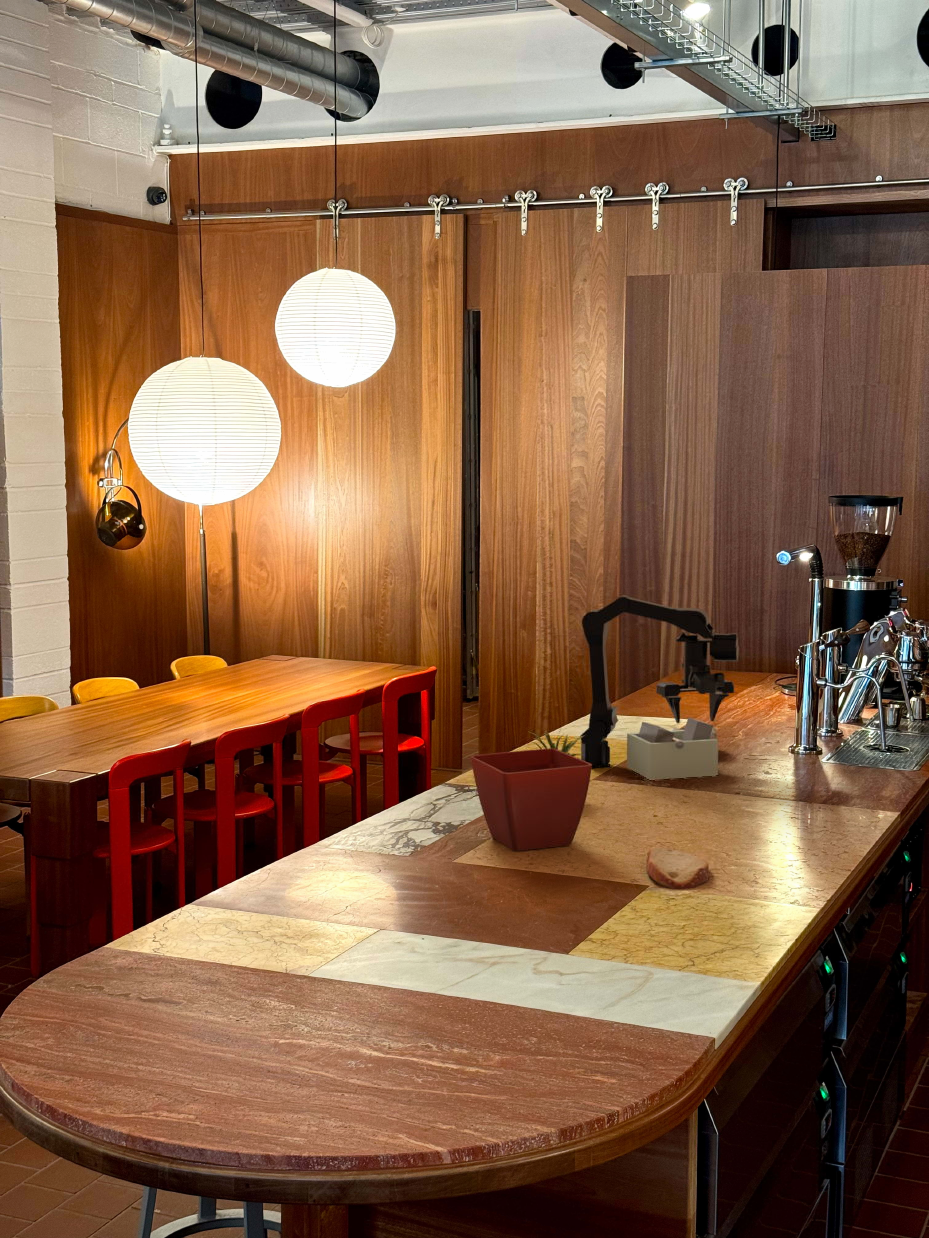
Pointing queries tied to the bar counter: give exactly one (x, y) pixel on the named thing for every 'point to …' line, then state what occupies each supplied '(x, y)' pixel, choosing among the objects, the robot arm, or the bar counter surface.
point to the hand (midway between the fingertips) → (695, 722)
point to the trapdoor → (656, 734)
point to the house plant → (552, 745)
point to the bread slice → (676, 868)
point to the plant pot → (532, 796)
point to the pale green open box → (672, 757)
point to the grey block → (696, 730)
